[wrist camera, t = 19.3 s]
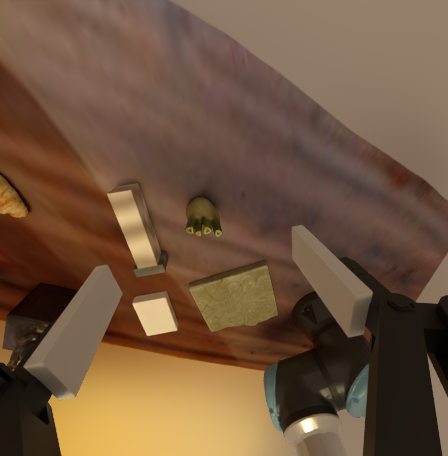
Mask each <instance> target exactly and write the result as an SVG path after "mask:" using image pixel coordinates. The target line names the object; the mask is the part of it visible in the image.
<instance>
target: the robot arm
mask: <svg viewBox="0 0 448 456" xmlns="http://www.w3.org/2000/svg"><path fill="white" fill-rule="evenodd" d="M292 259H293V260H294V262H295V263H296V264H297V266H298V267H299V269H300V270H301V271H302V273H303V274H304V276H305V277H306V278H307V280H308V281H309V283H310V284H311V286H312V287H313V288H314V290H315V291H316V292H313V293H311V294H308V295H307V296H305V297H304V298H302V299H301V300H300V301H299V302H298V303H297V304H296V306H295V307H294V310H293V314H292V315H293V320H294V322H295V324H296V326H297V327H298V328H299V329H300V330H301V331H302V332H303V334H304V335H305V336H306V337H307V338H308V339H309V340H310V341H311V342H312V343H313V345H314V347H315V348H314V349H311V350H308V351H306V352H303V353H300V354H298V355H295V356H292V357H289V358H287V359H284V360H279V361H278V362H277V363H275V364H272V365H270V366H268V367H267V368H266V370H265V373H264V388H265V396H266V401H267V405H268V407H269V412H270V416H271V419H272V422H273V424H274V426H275V428H276V429H277V430H278V431H283V434H284V437H285V440H286V441H287V442H288V443H290V444H291V445H292V446H293V447H295V449H296V451H297V454H298V456H348V455H347V452H346V450H345V448H344V446H343V444H342V441H341V439H340V437H339V432H340V428H341V420H340V418H339V416H338V414H337V411H340V410H342V409H346V410H347V411H348V413H350V415H352V416H353V417H357V418H360V417H361V416H362V417H365V416H366V418H365V432H364V448H363V456H442V451H441V445H440V438H439V430H438V424H437V417H436V412H435V411H436V410H435V404H434V397H433V391H432V384H431V377H430V370H429V364H428V357H427V354H428V356H429V358H430V360H431V362H432V364H433V367H434V369H435V371H436V373H437V375H438V377H439V379H440V382H441V384H442V386H443V388H444V390H445V392H446V394H447V396H448V295H446V296H443V297H442V298H441V299H440V301H439V303H438V304H431V303H430V304H429V303H416V302H414V301H413V300H412V299H410V298H408V297H407V296H404V295H401V294H397V293H391V292H390V291H389V290H388V289H386V288H385V287H384V286H383V285H382V284H381V283H380V282H378V281H377V280H376V279H375V278H374V277H373V276H371V275H370V274H368V272H367V271H366V270H365V269H362V267H361V266H360V265H359V264H358V263H356V262H355V261H353V260H351V259H349V258H347V257H343V258H337V257H336V256H335V255H333V254H332V253H331V252H330V251H329V250H328V249H327V248H326V247H325V246H324V245H323V244H322V243H321V242H320V241H319V240H318V239H317V238H316V237H315V236H314V235H312V234H311V233H310V232H309V231H308V230H307V229H306V228H305V227H304V226H303V225H299V226H294V227H292ZM121 296H122V292H121V290H120V288H119V286H118V284H117V282H116V280H115V279H114V277H113V275H112V273H111V271H110V269H109V267H108V265H102V266H97V267H96V268H95V269H94V270H93V272H92V273H91V274H90V276H89V277H88V278H87V280H86V281H85V283H84V284H83V285H82V287H81V288H80V289H79V291H78V292H77V294H76V295H75V296H74V298H73V299H72V300H71V302H70V303H69V305H68V306H67V307H66V309H65V310H64V311H63V313H62V314H61V315H60V317H58V318H56V319H55V320H54V321H52V322H51V323H50V324H49V325H48V326H47V327H46V328H45V330H44V331H43V332H42V334H41V335H40V337H39V338H38V339H37V340H36V341H35V343H34V345H32V347H31V348H30V349H29V351H28V352H27V353H26V355H25V356H24V357H23V359H22V360H21V362H20V363H19V364H18V365H17V367H16V368H15V369H14V371H12V370H11V369H9V368H8V367H7V366H6V365H5V364H4V363H0V456H61V452H60V447H59V442H58V438H57V432H56V427H55V423H54V418H53V413H52V408H51V406H50V404H49V403H48V401H49V399H50V397H51V395H52V394H53V395H54V396H55V397H56V398H57V399H58V400H63V399H68V398H73V397H76V395H77V393H78V391H79V388H80V386H81V384H82V382H83V380H84V378H85V375H86V373H87V371H88V369H89V366H90V364H91V362H92V360H93V358H94V355H95V353H96V351H97V349H98V347H99V344H100V342H101V340H102V338H103V336H104V334H105V331H106V329H107V327H108V325H109V323H110V320H111V318H112V316H113V314H114V312H115V309H116V307H117V305H118V303H119V301H120V298H121ZM365 326H366V327H367V328H368V329H369V331H370V332H371V333H372V335H371V339H370V343H369V342H368V341H367V340H366V339H365V337H364V336H363V334H364V331H365Z"/></svg>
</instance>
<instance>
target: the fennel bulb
mask: <svg viewBox="0 0 448 456" xmlns="http://www.w3.org/2000/svg"><path fill="white" fill-rule="evenodd" d="M186 216H187V219H188V222H187V226H186V229H185V230H186V232H187V233H190V234H193V233H194V229H196V230H195V235H197V236H201V231H202V224H203V225H204V234H209V233H210V232H211V231H212V228H211V225H212V227H213V231H214V233H215V236H217V237H219V236H221V235H222V233H223V232H222V229H221V226H220V217H219V214H218V213H217V211H216V209H215V208H214V206H213V205H212V204H211V202H210V201H208V200H207V199H206V198H204V197H196V198H194V199H193V201H192V202H191V203H189V204H188V206H187V208H186Z"/></svg>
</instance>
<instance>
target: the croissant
mask: <svg viewBox="0 0 448 456" xmlns="http://www.w3.org/2000/svg"><path fill="white" fill-rule="evenodd" d="M0 213H2V214H7V213H9V214H10V215H11V216H13V217H25V216H26V215H27V214H28V210H27V207H26V206H25V204H24V203H23V202H22V200H21V198H20V197H19V195H18V193H17V192H16V191H15V190H14V188H12V187H11V186H10V184H9V183H8V182H7V181H6V179H5V178H4V177H3V176H1V175H0Z"/></svg>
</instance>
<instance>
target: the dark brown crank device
mask: <svg viewBox="0 0 448 456" xmlns="http://www.w3.org/2000/svg"><path fill="white" fill-rule="evenodd" d="M76 294H77V291H74V290H70V289H66V288H62V287H58V286H55V285H48V284H42V283H40V284H39V285H38V286H37V287H36V288H35V289H34V290H33V291H32V292H31V293H29V294H28V295H27V296H26V297H25V298H24V299H23V300H22V301H21V302H20V303H19V304H18V305H17V306H16V307H15V308H14V309H13V310H12V311H11V312H10V313H9V314H8V315H7V317H6V326H5V334H4V342H3V349H8V350H12V351H13V353H12V355H11V358H10V361H9V363H8V364H7V367H8V368H9V369H11V370H13V369H15V368H16V366H17V362H18V361H19V360H22V359H23V357H24V356H25V355H26V353H27V352H28V351H29V349H30V348H31V347H32V345H34V343H35V341H36V340H37V339H38V338H39V337H40V335H41V334H42V332H43V331H44V330H45V328H46V327H47V326H48V325H49V324H50V323H51V322H52V321H54V320H55V319H56V318H58V317H60V315H61V314H62V313H63V311H64V310H65V309H66V307H67V306H68V305H69V303H70V302H71V300H72V299H73V298H74V296H75V295H76Z"/></svg>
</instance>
